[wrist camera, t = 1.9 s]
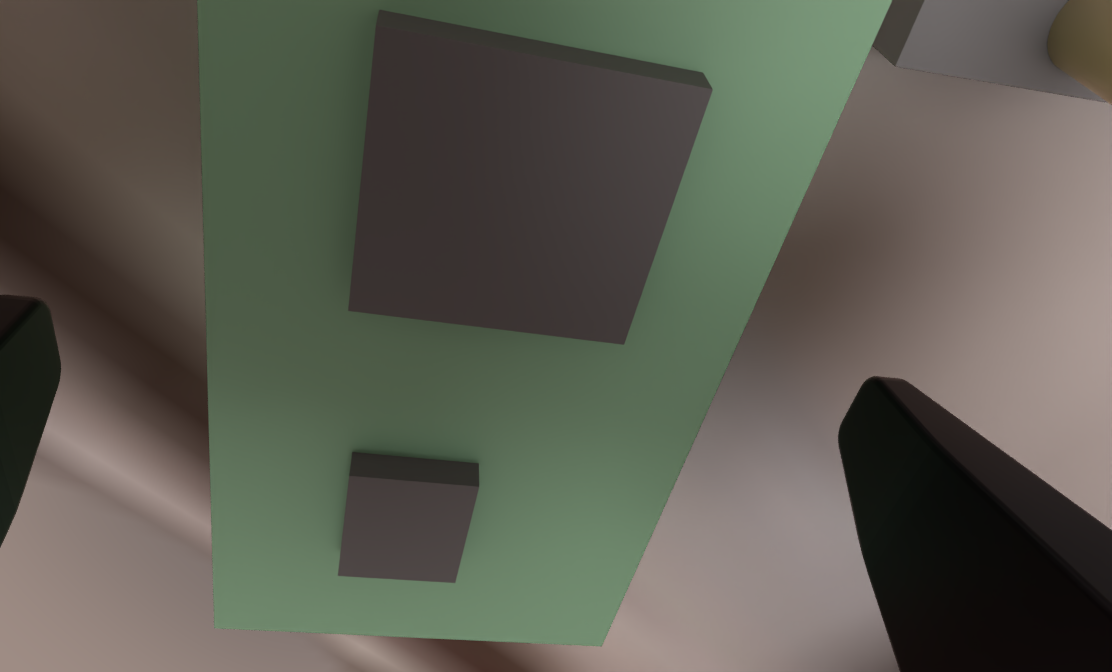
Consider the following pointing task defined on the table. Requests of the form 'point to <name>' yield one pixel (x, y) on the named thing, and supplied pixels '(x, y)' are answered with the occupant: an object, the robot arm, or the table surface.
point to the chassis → (1006, 42)
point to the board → (484, 288)
